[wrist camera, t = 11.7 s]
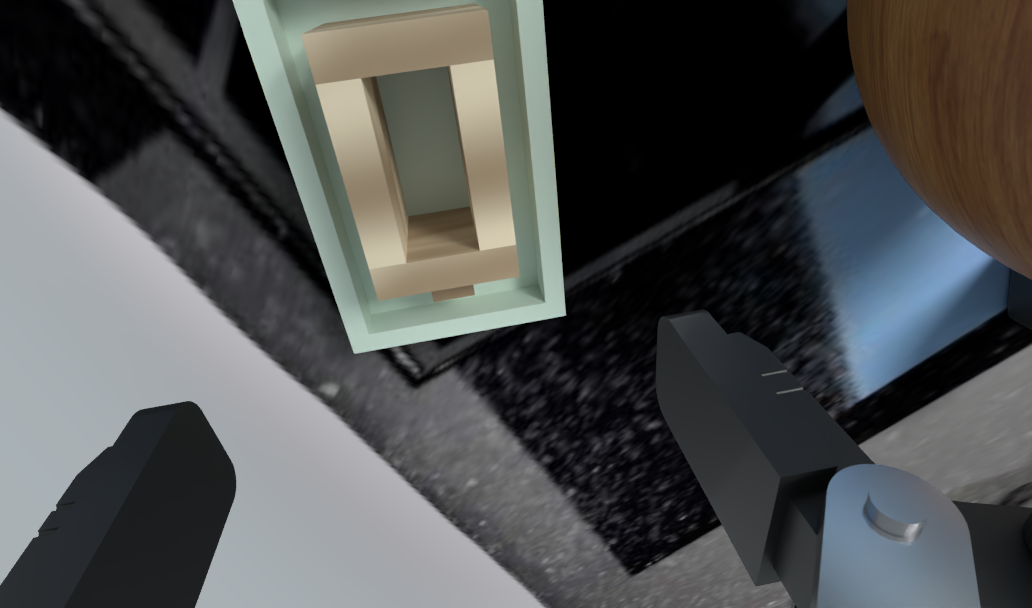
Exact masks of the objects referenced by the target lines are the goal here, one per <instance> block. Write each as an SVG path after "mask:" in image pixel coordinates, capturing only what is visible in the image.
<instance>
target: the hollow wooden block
mask: <svg viewBox="0 0 1032 608" xmlns="http://www.w3.org/2000/svg"><path fill="white" fill-rule="evenodd" d="M301 37H302V40H303V44H304V47H305V51H306V54H307V58H308V61H309V65H310V68H311V71H312V75H313V78H314V82H315V85H316V89H317V92H318V95H319V99H320V102H321V106H322V109H323V113H324V116H325V120H326V123H327V126H328V130H329V133H330V137H331V140H332V144H333V147H334V150H335V154H336V157H337V161H338V164H339V168H340V171H341V175H342V178H343V181H344V185H345V188H346V192H347V195H348V199H349V202H350V205H351V209H352V212H353V216H354V219H355V223H356V226H357V230H358V233H359V236H360V240H361V243H362V247H363V250H364V254H365V257H366V260H367V264H368V267H369V271H370V274H371V278H372V281H373V285H374V288H375V291H376V295H377V298H378V301H381V300H387V299H392V298H398V297H404V296H410V295H416V294H421V293H427V292H432V297H433V301H434V302H438V301H444V300H450V299H456V298H462V297H467V296H473V295H475V292H474V286H473V285H474V284H480V283H485V282H491V281H497V280H503V279H509V278H514V277H520V273H519V265H518V257H517V248H516V240H515V232H514V224H513V215H512V207H511V199H510V190H509V182H508V174H507V165H506V157H505V149H504V140H503V132H502V124H501V115H500V107H499V99H498V90H497V82H496V74H495V65H494V57H493V49H492V40H491V32H490V24H489V16H488V9H486V8H484V7H481V6H479V5H477V4H475V3H473V4H465V5H458V6H450V7H443V8H435V9H428V10H420V11H413V12H405V13H398V14H390V15H383V16H375V17H367V18H360V19H352V20H345V21H337V22H330V23H324V24H322V25H320V26H318V27H315V28H313V29H311V30H309V31H307V32H305V33H303V34H301ZM444 66H447V70H448V76H449V82H450V88H451V94H452V100H453V106H454V112H455V118H456V124H457V131H458V137H459V143H460V149H461V155H462V161H463V167H464V173H465V179H466V185H467V191H468V198H469V204H470V207H464V208H458V209H452V210H445V211H439V212H433V213H427V214H421V215H414V216H408V212H407V208H406V204H405V199H404V195H403V191H402V186H401V182H400V178H399V174H398V169H397V165H396V161H395V156H394V152H393V148H392V143H391V139H390V135H389V130H388V126H387V122H386V118H385V113H384V109H383V105H382V100H381V96H380V92H379V87H378V83H377V79H376V76H380V75H388V74H395V73H402V72H409V71H416V70H423V69H430V68H437V67H444Z"/></svg>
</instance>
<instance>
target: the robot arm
mask: <svg viewBox="0 0 1032 608" xmlns="http://www.w3.org/2000/svg"><path fill="white" fill-rule="evenodd" d="M656 391H657V397H658V402H659V405H660V408H661V411H662V414H663V416H664V418H665V420H666V422H667V424H668V426H669V427H670V429H671V431H672V433H673V435H674V437H675V439H676V440H677V442H678V444H679V446H680V448H681V450H682V451H683V453H684V455H685V457H686V459H687V461H688V462H689V464H690V466H691V468H692V470H693V472H694V474H695V475H696V477H697V479H698V481H699V483H700V485H701V486H702V488H703V490H704V492H705V494H706V496H707V498H708V499H709V501H710V503H711V505H712V507H713V509H714V510H715V512H716V514H717V516H718V518H719V520H720V522H721V523H722V525H723V527H724V529H725V531H726V533H727V534H728V536H729V538H730V540H731V542H732V544H733V546H734V547H735V549H736V551H737V553H738V555H739V557H740V558H741V560H742V562H743V564H744V566H745V568H746V569H747V571H748V573H749V575H750V577H751V579H752V581H753V582H754V584H755V586H760V585H765V584H770V583H774V582H779V581H782V583H783V585H784V586H785V588H786V590H787V592H788V593H789V595H790V597H791V598H792V600H793V603H792V607H791V608H1032V508H1026V507H1014V506H1003V505H991V504H979V503H968V502H959V501H951V500H950V499H949V498H948V497H947V496H946V495H945V494H943V493H942V492H941V491H940V490H939V489H937V488H936V487H934V486H933V485H931V484H930V483H928V482H927V481H925V480H923V479H921V478H919V477H917V476H915V475H913V474H910V473H908V472H906V471H903V470H900V469H897V468H893V467H889V466H884V465H876V464H875V463H874V462H873V461H872V460H871V459H870V458H869V457H868V456H867V455H866V454H865V453H864V452H863V451H862V450H861V449H860V448H859V446H858V445H857V444H856V443H855V442H854V441H853V440H852V439H851V438H850V437H849V436H848V434H847V433H846V432H845V431H844V430H843V429H842V428H841V427H840V426H839V425H838V424H837V423H836V421H835V420H834V419H833V418H832V417H831V416H830V415H829V414H828V413H827V412H826V411H825V410H824V408H823V407H822V406H821V405H820V404H819V403H818V402H817V401H816V400H815V399H814V398H813V396H812V395H811V394H810V393H809V392H808V391H804V390H803V386H802V385H801V383H800V382H799V381H798V380H797V379H796V378H795V377H794V376H793V375H792V374H791V373H788V372H787V368H786V367H785V366H784V365H783V364H782V363H781V362H780V361H779V360H778V358H777V357H776V356H775V355H774V354H773V353H772V352H771V351H770V350H769V349H768V348H767V347H766V346H764V345H762V344H760V343H758V342H757V341H755V340H753V339H751V338H749V337H748V336H746V335H744V334H742V333H741V332H737V333H732V334H726V332H725V331H724V330H723V329H722V328H721V327H720V325H719V324H718V323H717V322H716V321H715V319H714V318H713V317H712V316H711V315H710V314H709V313H708V312H707V311H706V310H697V311H691V312H686V313H680V314H675V315H669V316H664V317H661V318H660V320H659V323H658V334H657V362H656ZM235 492H236V476H235V470H234V466H233V464H232V462H231V460H230V458H229V456H228V455H227V453H226V451H225V450H224V448H223V446H222V444H221V443H220V441H219V439H218V438H217V436H216V434H215V432H214V431H213V429H212V427H211V426H210V424H209V422H208V421H207V419H206V417H205V416H204V414H203V412H202V410H201V409H200V408H199V406H198V405H197V404H195V403H193V402H190V401H187V402H181V403H175V404H170V405H165V406H159V407H153V408H148V409H142V410H139V411H138V412H136V413H135V414H134V415H133V416H132V418H131V419H130V420H129V422H128V423H127V425H126V427H125V428H124V430H123V431H122V433H121V434H120V436H119V437H118V439H117V440H116V442H115V443H114V445H113V446H111V447H108V448H107V449H105V450H104V451H103V452H102V453H101V454H100V455H99V456H98V457H96V458H95V459H94V460H93V461H92V462H91V463H90V464H89V465H88V466H87V467H85V468H84V469H83V470H82V471H81V472H80V473H79V474H78V475H77V476H76V477H75V479H74V480H73V481H72V483H71V484H70V486H69V487H68V489H67V490H66V492H65V493H64V494H63V496H62V497H61V499H60V500H59V502H58V503H57V505H56V506H57V509H56V511H52V512H51V513H50V515H49V516H48V518H47V519H46V520H45V522H44V523H43V525H42V526H41V528H40V529H39V530H38V532H39V536H38V537H36V538H33V539H32V541H31V542H30V544H29V545H28V547H27V548H26V549H25V551H24V552H23V554H22V555H21V556H20V558H19V559H18V561H17V562H16V564H15V565H14V567H13V568H12V569H11V571H10V572H9V574H8V575H7V577H6V578H5V580H4V581H3V583H2V584H1V585H0V608H195V605H196V603H197V600H198V597H199V595H200V592H201V589H202V586H203V584H204V581H205V578H206V575H207V573H208V570H209V567H210V564H211V561H212V559H213V556H214V553H215V550H216V548H217V545H218V542H219V539H220V537H221V534H222V531H223V528H224V525H225V523H226V520H227V517H228V515H229V512H230V509H231V506H232V503H233V500H234V497H235Z"/></svg>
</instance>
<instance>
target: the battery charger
mask: <svg viewBox="0 0 1032 608" xmlns="http://www.w3.org/2000/svg"><path fill="white" fill-rule="evenodd" d="M1008 316H1009V317H1010V318H1011V319H1013V320H1015V321H1017V322H1019V323H1020V324H1022V325H1024V326H1026V327H1028V328H1029V329H1031V330H1032V280H1031V279H1029V278H1027V277H1025V276H1024V275H1022V274H1020V273H1018V272H1016V271H1014V270H1013V269H1011V276H1010V285H1009V296H1008Z"/></svg>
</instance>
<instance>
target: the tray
mask: <svg viewBox="0 0 1032 608" xmlns="http://www.w3.org/2000/svg"><path fill="white" fill-rule="evenodd" d="M232 1H233V4H234V7H235V9H236V12H237V15H238V18H239V21H240V24H241V27H242V30H243V33H244V36H245V39H246V41H247V44H248V47H249V50H250V53H251V56H252V59H253V62H254V65H255V68H256V70H257V73H258V76H259V79H260V82H261V85H262V88H263V91H264V94H265V97H266V99H267V102H268V105H269V108H270V111H271V114H272V117H273V120H274V123H275V126H276V129H277V131H278V134H279V137H280V140H281V143H282V146H283V149H284V152H285V155H286V158H287V160H288V163H289V166H290V169H291V172H292V175H293V178H294V181H295V184H296V187H297V189H298V192H299V195H300V198H301V201H302V204H303V207H304V210H305V213H306V216H307V219H308V221H309V224H310V227H311V230H312V233H313V236H314V239H315V242H316V245H317V248H318V250H319V253H320V256H321V259H322V262H323V265H324V268H325V271H326V274H327V277H328V279H329V282H330V285H331V288H332V291H333V294H334V297H335V300H336V303H337V306H338V309H339V311H340V314H341V317H342V320H343V323H344V326H345V329H346V332H347V335H348V338H349V340H350V343H351V346H352V349H353V352H354V354H356V353H362V352H367V351H373V350H379V349H384V348H390V347H395V346H401V345H406V344H412V343H417V342H423V341H428V340H434V339H439V338H445V337H450V336H456V335H461V334H467V333H472V332H478V331H483V330H489V329H495V328H500V327H506V326H511V325H517V324H522V323H528V322H533V321H539V320H544V319H550V318H555V317H561V316H566V310H565V297H564V283H563V270H562V256H561V243H560V229H559V216H558V202H557V189H556V175H555V161H554V148H553V134H552V121H551V107H550V94H549V80H548V67H547V53H546V40H545V26H544V12H543V0H232ZM473 3H475V4H477V5H479V6H481V7H484V8H486V9H488V16H489V24H490V32H491V40H492V49H493V57H494V65H495V74H496V82H497V90H498V99H499V107H500V115H501V124H502V132H503V140H504V149H505V157H506V165H507V174H508V182H509V190H510V199H511V207H512V215H513V224H514V232H515V240H516V248H517V257H518V265H519V273H520V277H514V278H509V279H503V280H497V281H491V282H485V283H480V284H474V285H473V286H474V292H475V295H473V296H467V297H462V298H456V299H450V300H444V301H438V302H434V301H433V297H432V292H427V293H421V294H416V295H410V296H404V297H398V298H392V299H387V300H381V301H378V298H377V295H376V291H375V288H374V285H373V281H372V278H371V274H370V271H369V267H368V264H367V260H366V257H365V254H364V250H363V247H362V243H361V240H360V236H359V233H358V230H357V226H356V223H355V219H354V216H353V212H352V209H351V205H350V202H349V199H348V195H347V192H346V188H345V185H344V181H343V178H342V175H341V171H340V168H339V164H338V161H337V157H336V154H335V150H334V147H333V144H332V140H331V137H330V133H329V130H328V126H327V123H326V120H325V116H324V113H323V109H322V106H321V102H320V99H319V95H318V92H317V89H316V85H315V82H314V78H313V75H312V71H311V68H310V65H309V61H308V58H307V54H306V51H305V47H304V44H303V40H302V37H301V34H303V33H305V32H307V31H309V30H311V29H313V28H315V27H318V26H320V25H322V24H324V23H330V22H337V21H345V20H352V19H360V18H367V17H375V16H383V15H390V14H398V13H405V12H413V11H420V10H428V9H435V8H443V7H450V6H458V5H465V4H473ZM376 79H377V83H378V87H379V92H380V96H381V100H382V105H383V109H384V113H385V118H386V122H387V126H388V130H389V135H390V139H391V143H392V148H393V152H394V156H395V161H396V165H397V169H398V174H399V178H400V182H401V186H402V191H403V195H404V199H405V204H406V208H407V212H408V216H414V215H421V214H427V213H433V212H439V211H445V210H452V209H458V208H464V207H470V204H469V198H468V191H467V185H466V179H465V173H464V167H463V161H462V155H461V149H460V143H459V137H458V131H457V124H456V118H455V112H454V106H453V100H452V94H451V88H450V82H449V76H448V70H447V66H444V67H437V68H430V69H423V70H416V71H409V72H402V73H395V74H388V75H380V76H376Z"/></svg>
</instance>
